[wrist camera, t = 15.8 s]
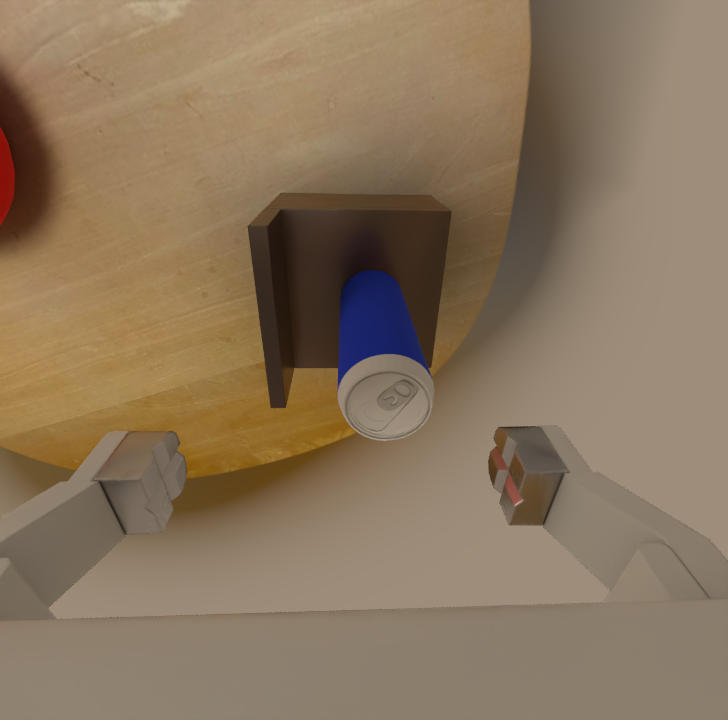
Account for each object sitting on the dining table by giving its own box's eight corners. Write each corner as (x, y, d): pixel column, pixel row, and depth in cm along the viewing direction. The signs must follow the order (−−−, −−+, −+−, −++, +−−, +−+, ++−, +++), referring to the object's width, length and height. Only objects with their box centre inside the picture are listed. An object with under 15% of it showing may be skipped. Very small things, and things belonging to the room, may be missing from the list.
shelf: (431, 195, 36) (474, 228, 24) (417, 330, 43) (445, 407, 31) (280, 192, 36) (247, 225, 24) (291, 329, 43) (270, 408, 31)
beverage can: (372, 335, 34) (388, 459, 22) (327, 299, 33) (316, 411, 20) (414, 295, 33) (459, 403, 20) (369, 254, 31) (387, 344, 18)
